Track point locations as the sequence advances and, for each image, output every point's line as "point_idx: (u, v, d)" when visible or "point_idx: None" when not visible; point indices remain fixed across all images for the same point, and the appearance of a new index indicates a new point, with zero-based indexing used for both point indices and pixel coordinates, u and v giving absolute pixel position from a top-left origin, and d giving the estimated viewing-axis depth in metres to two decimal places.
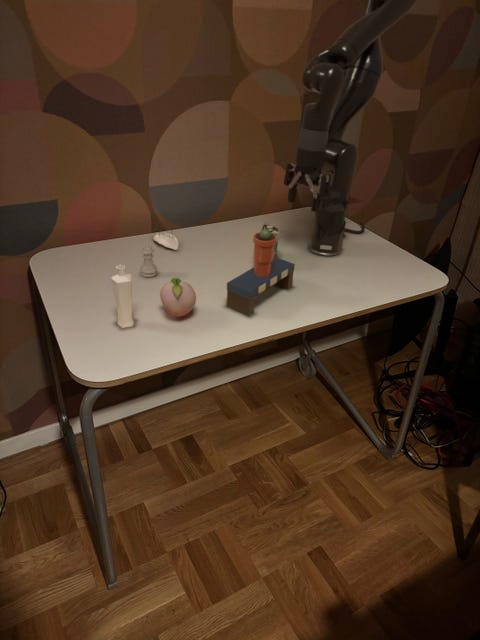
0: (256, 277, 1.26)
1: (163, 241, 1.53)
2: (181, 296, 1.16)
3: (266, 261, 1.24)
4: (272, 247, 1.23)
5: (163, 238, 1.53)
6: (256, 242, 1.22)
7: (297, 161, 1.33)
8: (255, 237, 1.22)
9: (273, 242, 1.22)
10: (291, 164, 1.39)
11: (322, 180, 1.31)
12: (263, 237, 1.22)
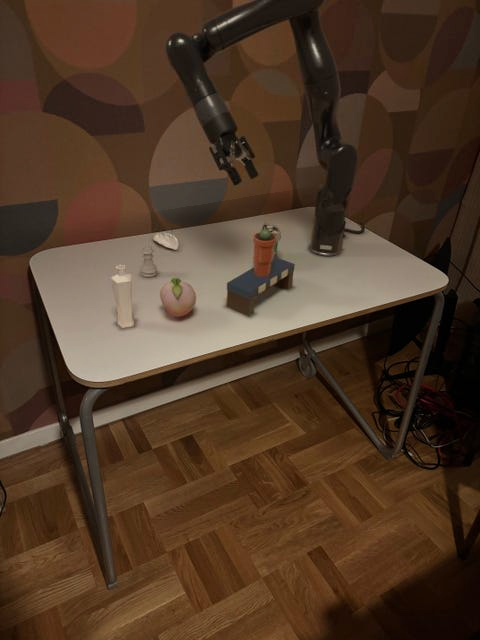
0: (256, 277, 1.26)
1: (163, 241, 1.53)
2: (181, 296, 1.16)
3: (266, 261, 1.24)
4: (272, 247, 1.23)
5: (163, 238, 1.53)
6: (256, 242, 1.22)
7: None
8: (255, 237, 1.22)
9: (273, 242, 1.22)
10: None
11: None
12: (263, 237, 1.22)
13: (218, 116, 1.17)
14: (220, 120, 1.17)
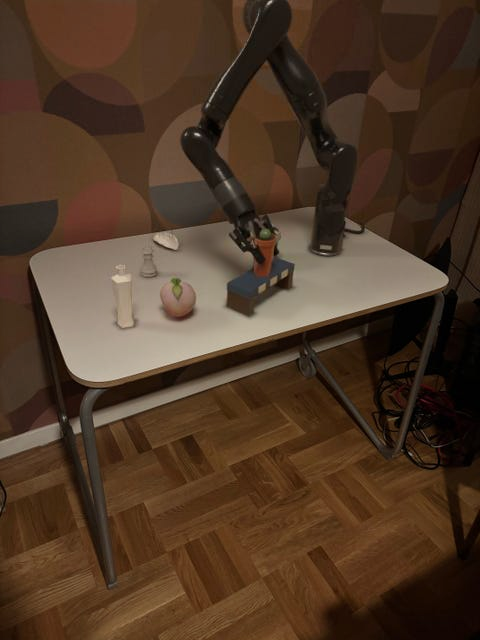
0: (256, 277, 1.26)
1: (163, 241, 1.53)
2: (181, 296, 1.16)
3: (266, 261, 1.24)
4: (272, 247, 1.23)
5: (163, 238, 1.53)
6: (256, 242, 1.22)
7: None
8: None
9: (273, 242, 1.22)
10: None
11: None
12: (263, 237, 1.22)
13: (234, 200, 1.20)
14: (236, 203, 1.21)
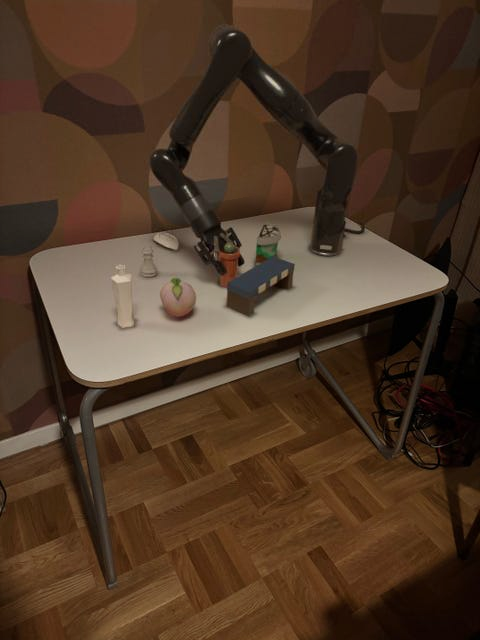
0: (256, 277, 1.26)
1: (163, 241, 1.53)
2: (181, 296, 1.16)
3: (230, 273, 1.33)
4: (236, 260, 1.32)
5: (163, 238, 1.53)
6: (220, 255, 1.31)
7: None
8: (220, 250, 1.31)
9: (236, 255, 1.31)
10: None
11: None
12: (227, 250, 1.31)
13: (200, 216, 1.30)
14: (202, 219, 1.30)
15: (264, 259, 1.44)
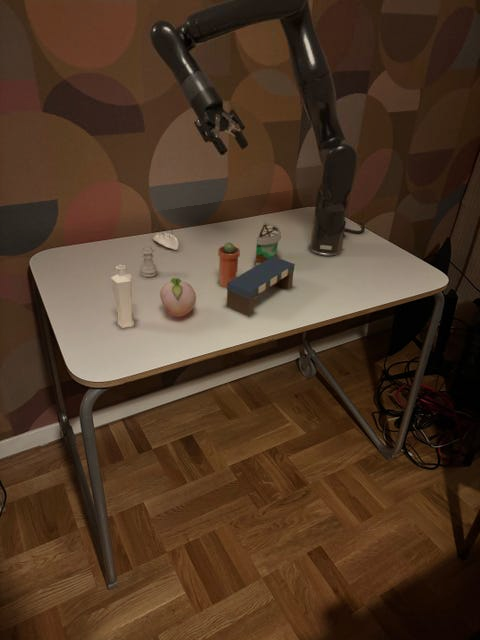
0: (256, 277, 1.26)
1: (163, 241, 1.53)
2: (181, 296, 1.16)
3: (230, 273, 1.33)
4: (236, 260, 1.32)
5: (163, 238, 1.53)
6: (220, 255, 1.31)
7: None
8: (220, 250, 1.31)
9: (236, 255, 1.31)
10: None
11: None
12: (227, 250, 1.31)
13: (201, 92, 1.25)
14: (203, 95, 1.25)
15: (264, 259, 1.44)
